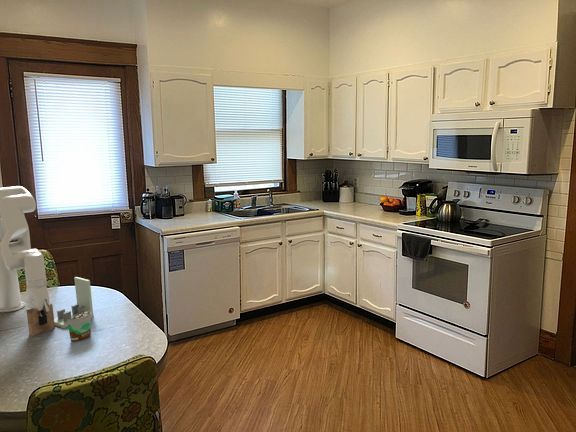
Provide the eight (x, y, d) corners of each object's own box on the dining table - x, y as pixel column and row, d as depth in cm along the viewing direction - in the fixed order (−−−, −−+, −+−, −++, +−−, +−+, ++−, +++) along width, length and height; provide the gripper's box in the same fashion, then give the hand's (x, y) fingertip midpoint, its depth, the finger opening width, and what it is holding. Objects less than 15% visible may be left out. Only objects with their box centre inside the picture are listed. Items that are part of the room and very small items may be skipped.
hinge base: (63, 328, 215) (58, 289, 211) (50, 323, 220) (45, 285, 217) (93, 316, 227) (90, 280, 223) (80, 312, 232) (76, 276, 229)
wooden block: (33, 336, 207) (30, 311, 205) (29, 334, 209) (26, 310, 207) (55, 328, 215) (53, 304, 213) (51, 326, 217) (49, 302, 215)
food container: (82, 344, 199) (79, 320, 197) (68, 343, 200) (66, 320, 198) (99, 331, 211) (97, 309, 209) (86, 330, 212) (84, 308, 210)
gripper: (17, 281, 209) (22, 322, 213) (38, 288, 200) (43, 330, 204) (34, 276, 215) (39, 316, 219) (55, 282, 206) (60, 324, 210)
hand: (41, 323), depth 211 cm, fingers closed on wooden block, 2 cm apart
